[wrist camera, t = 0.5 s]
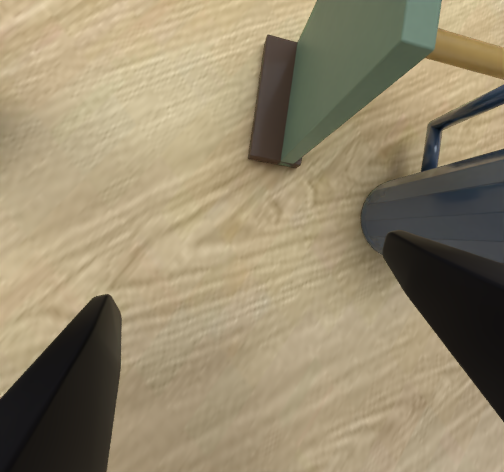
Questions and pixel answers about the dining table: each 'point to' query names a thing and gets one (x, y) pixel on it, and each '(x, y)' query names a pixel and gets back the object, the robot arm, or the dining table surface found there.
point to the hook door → (349, 69)
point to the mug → (445, 194)
